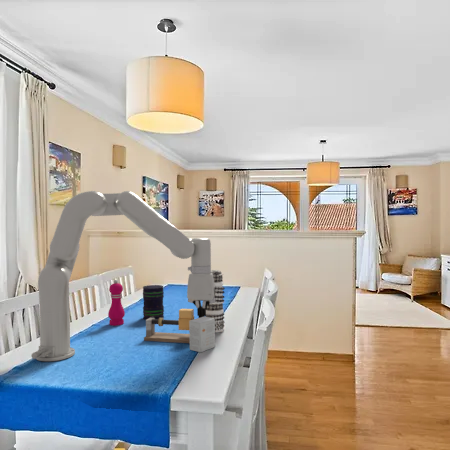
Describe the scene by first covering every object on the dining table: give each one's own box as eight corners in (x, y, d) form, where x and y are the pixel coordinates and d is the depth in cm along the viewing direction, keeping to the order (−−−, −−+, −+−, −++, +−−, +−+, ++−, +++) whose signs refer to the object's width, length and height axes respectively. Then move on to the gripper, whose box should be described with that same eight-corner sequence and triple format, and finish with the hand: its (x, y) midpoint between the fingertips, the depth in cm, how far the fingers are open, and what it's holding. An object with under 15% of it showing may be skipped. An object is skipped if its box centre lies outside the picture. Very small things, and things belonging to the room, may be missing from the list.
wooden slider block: (191, 330, 153) (190, 311, 153) (178, 329, 154) (178, 310, 154) (194, 327, 157) (194, 308, 157) (182, 326, 158) (182, 308, 158)
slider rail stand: (198, 343, 150) (198, 322, 150) (143, 340, 155) (143, 319, 155) (204, 337, 158) (204, 317, 158) (152, 334, 163) (151, 315, 163)
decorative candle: (200, 328, 172) (199, 270, 172) (220, 326, 175) (220, 268, 175) (207, 333, 164) (206, 272, 163) (228, 331, 167) (227, 271, 167)
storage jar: (160, 314, 199) (159, 284, 199) (166, 318, 191) (166, 287, 190) (140, 316, 194) (140, 286, 194) (146, 321, 186) (146, 289, 186)
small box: (204, 344, 150) (203, 316, 149) (215, 347, 146) (215, 318, 146) (189, 349, 143) (188, 320, 143) (200, 352, 140) (200, 322, 140)
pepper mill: (120, 326, 177) (119, 281, 177) (105, 325, 179) (104, 280, 178) (127, 322, 184) (126, 278, 184) (113, 321, 186) (112, 278, 186)
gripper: (179, 271, 152) (180, 319, 152) (217, 271, 149) (218, 321, 149) (185, 268, 159) (186, 314, 159) (222, 269, 156) (222, 316, 156)
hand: (201, 317), depth 154 cm, fingers closed
